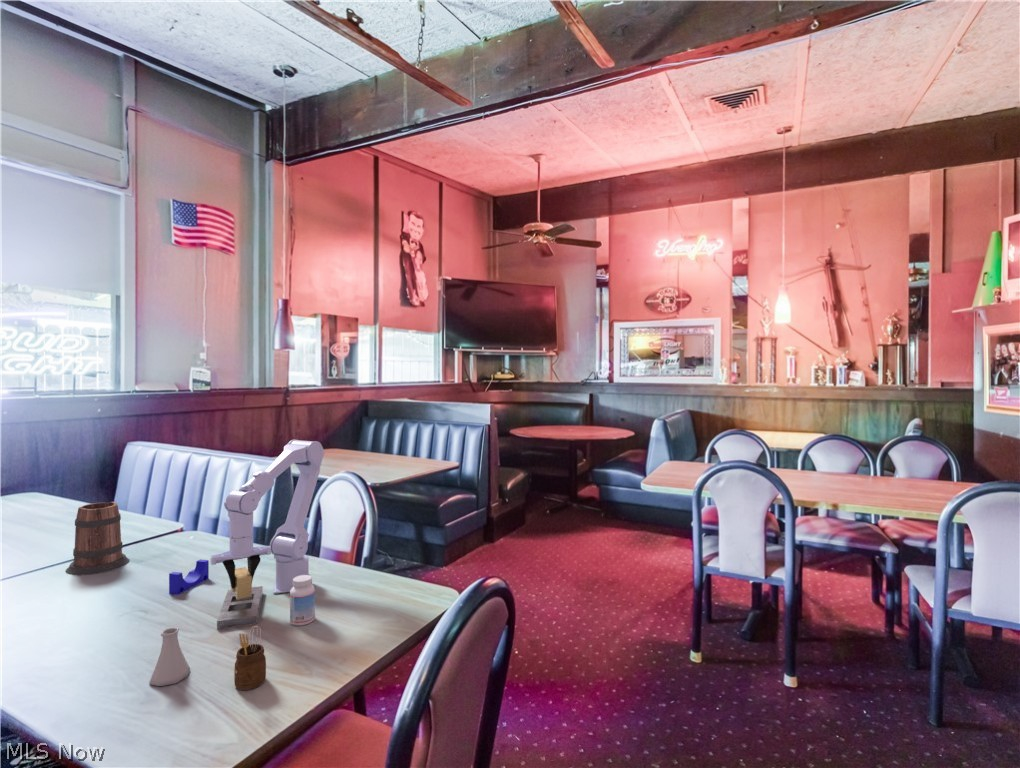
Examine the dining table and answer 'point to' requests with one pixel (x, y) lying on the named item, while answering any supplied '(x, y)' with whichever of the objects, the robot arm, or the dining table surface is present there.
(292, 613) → the pill bottle
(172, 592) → the cable clip
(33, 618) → the dining table surface
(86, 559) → the tankard
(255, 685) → the utensil holder
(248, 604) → the gray rectangular plate
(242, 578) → the wooden toy block
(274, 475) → the robot arm
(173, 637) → the flask
